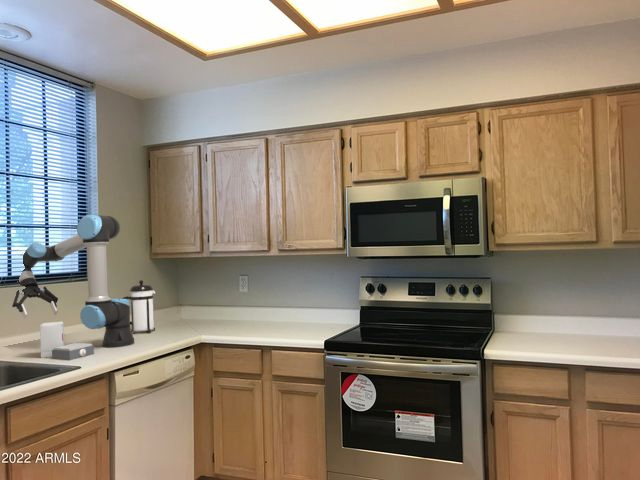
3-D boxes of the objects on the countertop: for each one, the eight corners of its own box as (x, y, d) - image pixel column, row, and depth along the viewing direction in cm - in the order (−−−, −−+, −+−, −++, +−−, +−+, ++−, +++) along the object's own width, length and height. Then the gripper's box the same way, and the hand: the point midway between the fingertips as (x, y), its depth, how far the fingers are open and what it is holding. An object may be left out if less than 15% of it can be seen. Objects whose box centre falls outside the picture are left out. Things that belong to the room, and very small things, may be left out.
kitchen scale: (76, 352, 242) (76, 342, 242) (95, 354, 237) (94, 343, 237) (52, 358, 230) (51, 348, 230) (71, 360, 225) (70, 349, 225)
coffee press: (148, 329, 307) (146, 279, 307) (161, 331, 296) (159, 279, 296) (119, 333, 295) (117, 281, 295) (132, 336, 284) (130, 281, 284)
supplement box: (62, 356, 235) (61, 323, 235) (40, 358, 232) (39, 325, 232) (65, 352, 243) (64, 321, 243) (43, 354, 240) (42, 322, 240)
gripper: (51, 285, 266) (65, 316, 256) (-3, 289, 246) (10, 323, 237) (55, 275, 262) (70, 306, 253) (1, 278, 243) (14, 312, 233)
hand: (41, 314), depth 245 cm, fingers open, 13 cm apart
